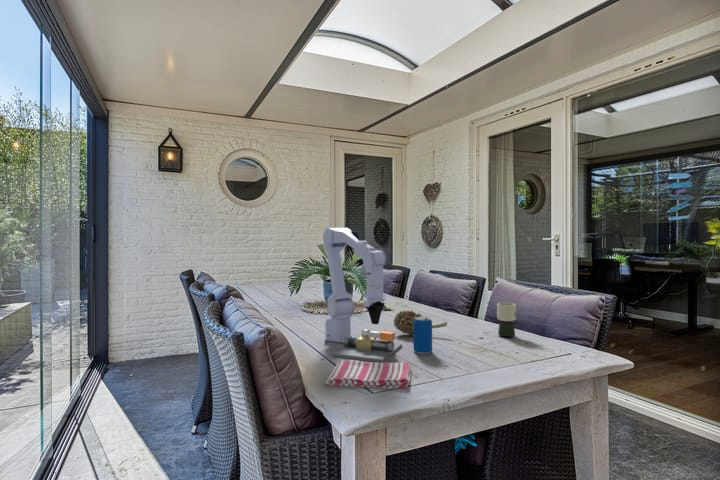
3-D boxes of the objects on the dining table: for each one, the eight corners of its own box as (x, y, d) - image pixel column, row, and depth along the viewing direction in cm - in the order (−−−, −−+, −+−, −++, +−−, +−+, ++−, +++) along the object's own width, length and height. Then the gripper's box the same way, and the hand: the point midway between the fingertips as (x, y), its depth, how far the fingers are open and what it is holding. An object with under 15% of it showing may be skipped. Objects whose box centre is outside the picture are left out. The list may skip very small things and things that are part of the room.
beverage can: (432, 355, 141) (431, 320, 141) (412, 354, 143) (412, 319, 142) (432, 350, 148) (432, 316, 147) (414, 349, 149) (414, 315, 149)
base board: (333, 356, 142) (333, 353, 142) (357, 341, 160) (357, 338, 160) (382, 362, 134) (382, 359, 134) (402, 346, 153) (402, 343, 152)
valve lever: (360, 337, 147) (360, 330, 147) (364, 335, 150) (364, 328, 149) (391, 341, 141) (391, 334, 141) (395, 339, 144) (395, 332, 144)
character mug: (520, 340, 159) (520, 306, 159) (501, 339, 160) (501, 306, 159) (511, 332, 170) (511, 301, 170) (493, 332, 171) (493, 301, 170)
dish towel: (409, 391, 112) (409, 378, 112) (325, 387, 115) (324, 375, 115) (411, 370, 129) (410, 359, 128) (337, 367, 132) (337, 356, 132)
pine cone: (392, 337, 165) (392, 312, 165) (394, 331, 175) (394, 308, 174) (449, 339, 162) (449, 313, 161) (447, 333, 171) (447, 309, 171)
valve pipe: (343, 348, 149) (343, 337, 148) (349, 345, 153) (348, 334, 153) (390, 354, 141) (390, 342, 141) (395, 350, 146) (395, 338, 145)
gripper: (376, 288, 136) (377, 329, 137) (393, 283, 149) (393, 320, 150) (357, 287, 139) (358, 327, 140) (375, 282, 152) (375, 318, 153)
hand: (375, 323), depth 145 cm, fingers closed
